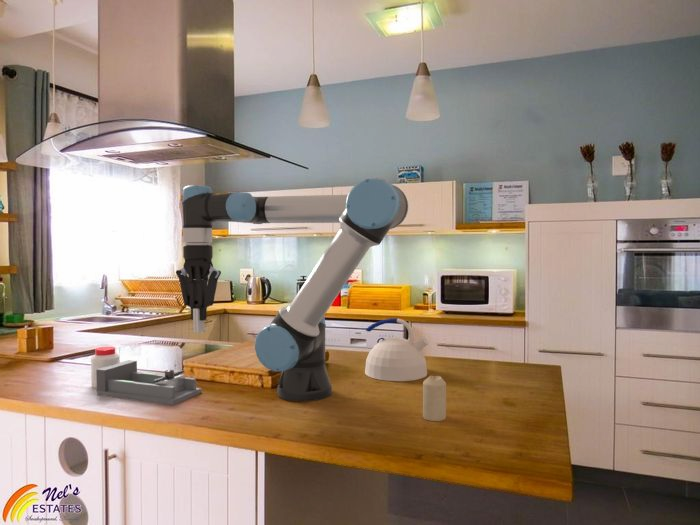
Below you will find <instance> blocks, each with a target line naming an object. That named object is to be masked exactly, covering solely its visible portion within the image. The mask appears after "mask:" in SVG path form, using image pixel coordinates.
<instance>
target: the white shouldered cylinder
mask: <svg viewBox="0 0 700 525" xmlns="http://www.w3.org/2000/svg"><path fill="white" fill-rule="evenodd" d="M422 418H423V419H424V420H426V421H429V422H430V421H431V422H441V421H442V422H443V421H445V420H446V419H447V382H446V381H445V380H444V379H443V377H442V376H440V375H435V376H433V375H429V376H428V377H427V378H426V379H424V380H423V382H422Z"/></svg>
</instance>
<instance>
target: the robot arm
mask: <svg viewBox="0 0 700 525" xmlns="http://www.w3.org/2000/svg"><path fill="white" fill-rule="evenodd" d="M408 202H409V200H408V199H407V196H406V195H405V193H404V191H403V190H401V189H400V188H399V187H398V186H397V185H394V184H392V183H391V182H390V181H387V180H385V179H383V178H377V177H376V178H374V177H371V178H365V179H363V180H361V181H359V182H357V183H356V184H355V185H354V186H353V187H352V188H351V189H350V190H349V192H348V194H326V195H324V194H321V195H320V194H319V195H318V194H317V195H283V196H279V195H278V196H273V195H272V196H253V195H252V193H249V192H243V191H242V192H241V191H234V192H219V193H217V192H216V193H215V192H213V189H212V188H211V186H208V185H200V184H199V185H193V184H191V185H186V186H184V187H183V190H182V201H181V206H182V223H183V224H182V225H183V226H182V242H183V244H185V245H183V247H182V252H183V253H182V254H183V256H182V258H183V259H184V263H183V267H182V268H181V269H177V270H176V271H175V274H176V276H177V278H178V280H179V285H180V290H181V294H182V299H183V300H182V302H183V304H184V305H183V306H185V307H186V306H187V307H188V308H190V319H191V321H192V327H193V330H192V333H193V334H202V333H205V330H206V328H205V327H206V324H205V321H206V320H207V318H208V316H207V314H208V313H207V309H208V307H211V306H213V305H214V303H215V295H216V291H217V286H218V280H219V278H220V276H221V274H222V272H221V270H218V269H216V268H215V267H214V265H213V262H212V261H213V260H212V259H213V256H214V255H213V253H214V252H213V251H214V250H213V245H211V244H212V243H213V223H216V222H217V223H218V222H220V223H221V222H222V223H223V222H225V223H227V222H229V223H230V222H231V223H242V224H243V223H244V224H253V225H263V224H331V223H332V224H335V223H336V224H340V225H339V226H340V227H339V229H338V231H337V232H336V234H335V235H334V236H333V239H332V240H331V242H330V243H329V244H328V246H327V248H326V249H325V250H324V252H323V254H322V255H321V256H320V259H319V260H318V261H317V263H316V264H315V266H314V267H313V269H312V271H311V272H310V274H309V275H308V277H307V278H306V280H305V281H304V283H303V285H302V286H301V288H300V289H299V290H298V292H297V294H296V295H295V296H294V298H293V300H292V301H291V303H290V304H289V305H288V306H282V307H281V308H280V309H279V310H278V311H277V313H276V315H275V317H273V319H272V321H271V323H269V325H266V326H265V327H263V328H262V329H261V330H260V331H259V332H258V333H257V335H256V336H255V339H254V351H255V355H256V357H257V359H258V361H259V362H260V363H261V365H262V366H264V367H265V368H267V369H268V370H270V371H272V372H281V374H280V378H279V381H278V385H277V388H276V391H277V396H278V397H279V398H280V399H282V400H286V401H290V402H291V401H292V402H313V401H319V400H323V399H327V398H328V397H330V396H331V395H332V393H333V392H332V389H333V388H332V382H331V379H330V377H329V373H328V370H327V367H326V327H327V325H326V320H325V319H326V317H325V315H326V314H327V312H328V311H329V309H330V308H331V306H332V305H333V303H334V301H335V299H336V298H337V297H338V296H339V294H340V292H341V291H342V290H343V288H344V287H345V285H346V283H347V282H348V281H349V279H350V278H351V276H352V275H353V274H354V271H355V270H356V269H357V268H358V266H359V264H360V263H361V261H362V260H363V259H364V257H365V255H366V254H367V253H368V251H369V250H370V248H371V247H375V246H380V245H381V243H382V241H383V240H384V238H386V235H387V234H388V233H389V232H390V230H392V229H395V228H397V227H398V226H400V225H401V224H402V223H403V222H404V220H405V219H406V217H407V215H408V211H409V203H408Z"/></svg>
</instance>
